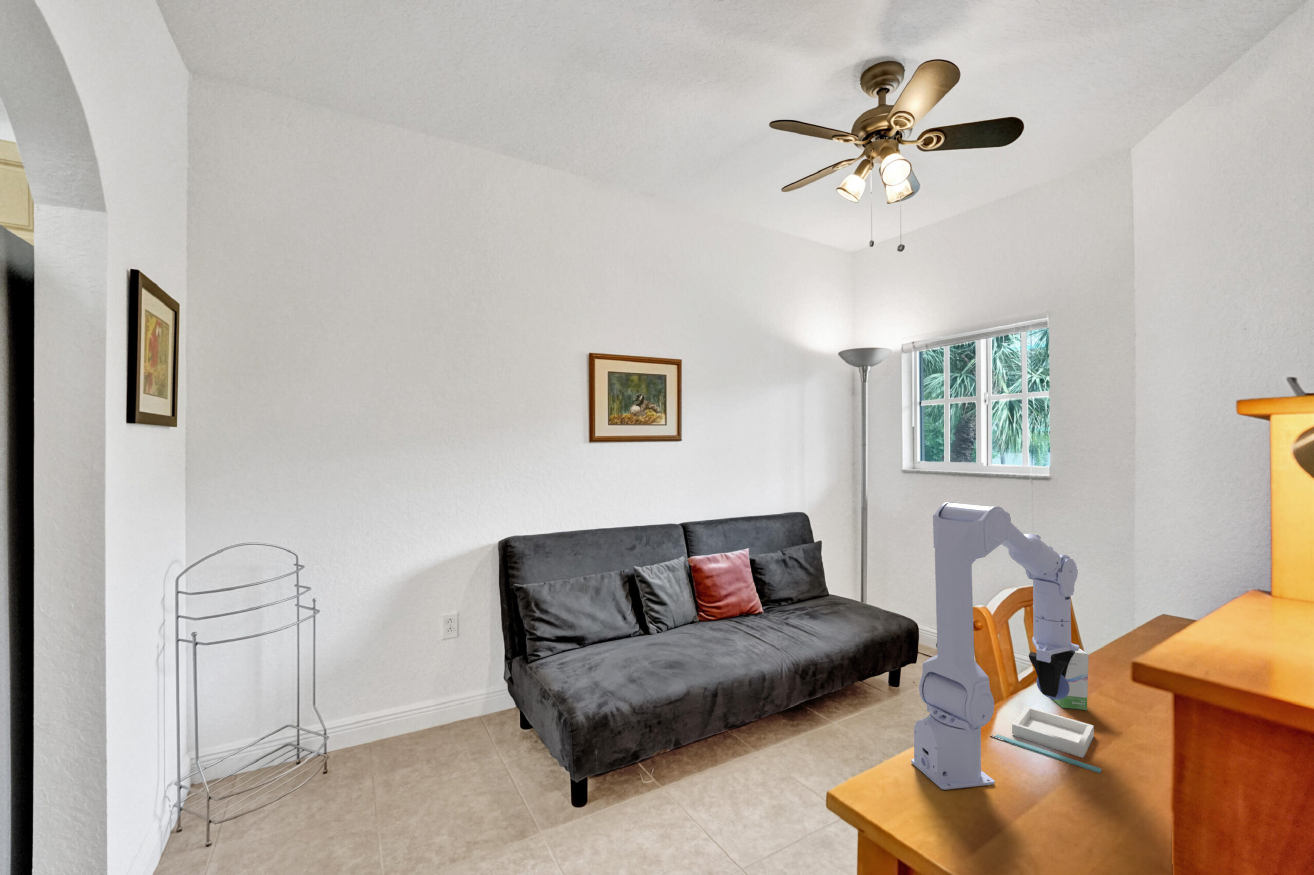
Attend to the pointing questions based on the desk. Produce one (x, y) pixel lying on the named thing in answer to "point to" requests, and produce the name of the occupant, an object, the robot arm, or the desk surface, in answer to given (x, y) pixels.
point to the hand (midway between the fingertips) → (1052, 690)
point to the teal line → (1050, 754)
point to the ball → (1062, 689)
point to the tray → (1054, 731)
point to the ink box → (1076, 682)
